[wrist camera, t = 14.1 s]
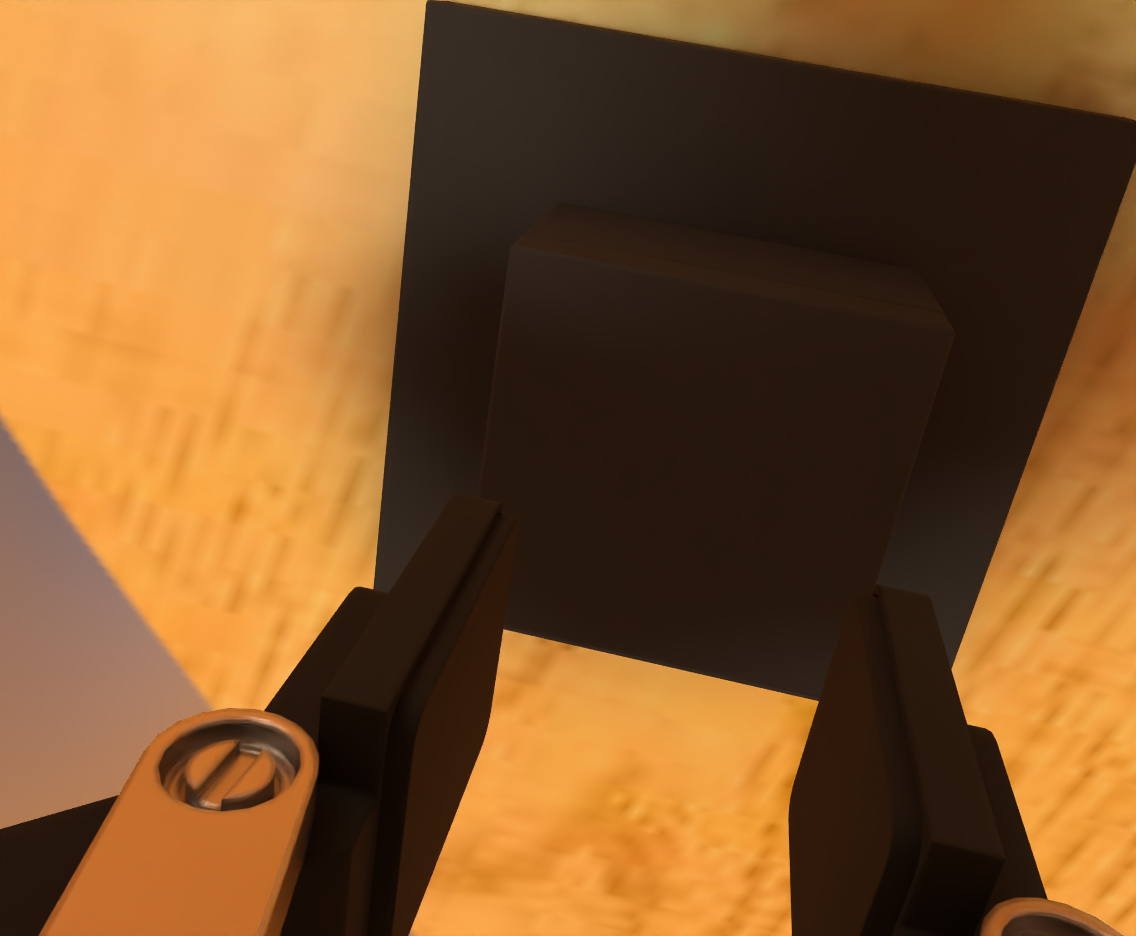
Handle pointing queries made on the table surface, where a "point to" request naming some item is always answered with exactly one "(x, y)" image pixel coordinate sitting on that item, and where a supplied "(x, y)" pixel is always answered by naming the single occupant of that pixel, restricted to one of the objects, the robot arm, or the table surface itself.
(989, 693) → the table surface
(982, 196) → the base pad
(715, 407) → the top pad
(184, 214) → the table surface
